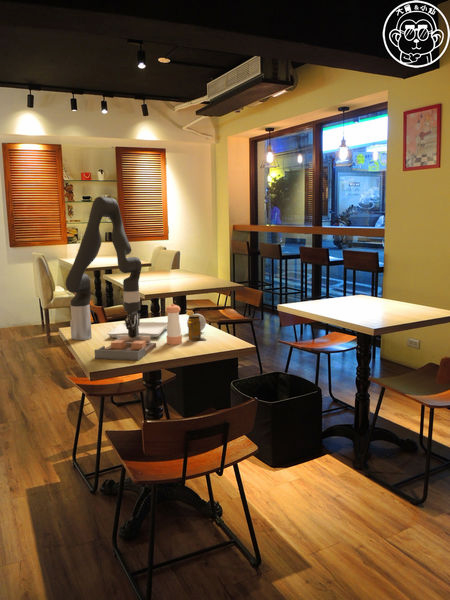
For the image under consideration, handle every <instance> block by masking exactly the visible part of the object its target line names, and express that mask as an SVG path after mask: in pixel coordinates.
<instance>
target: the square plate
mask: <svg viewBox="0 0 450 600" xmlns="http://www.w3.org/2000/svg"><path fill="white" fill-rule="evenodd" d="M167 324H168V321H167V322H166V321H165V322H164V321H163V322H161V321H159V322H156V321H149V322H148V321H144V322H143V321H142V322H139V326H138V328H139V335H142V336H151V339H152V338H158V337H159V336H160V335H161V334H162V333H163V332H164V331H165V330H167ZM107 335H108V337H111V338H114V339H117V335H128V329H127V327H126V323H125V322H122V323H120V324H119V325H117V326H115V327H114V328H113V329H112V330H110V331H109V332H108V333H107Z"/></svg>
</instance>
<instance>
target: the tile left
mask: <svg viewBox="0 0 450 600" xmlns="http://www.w3.org/2000/svg"><path fill="white" fill-rule="evenodd" d="M110 345H111V348H123V347H124V346H126V340H117V339H115V340H113V341H111V342H110Z"/></svg>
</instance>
